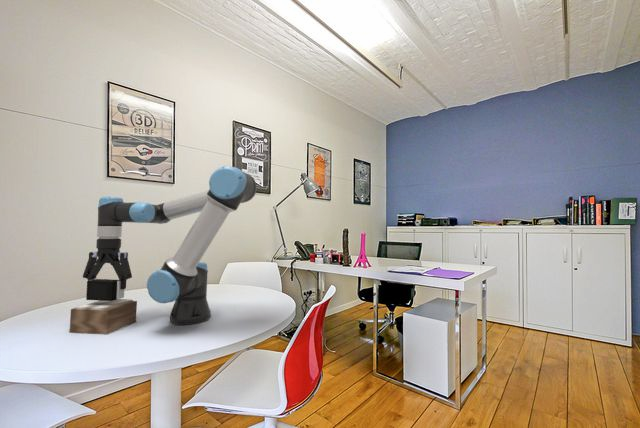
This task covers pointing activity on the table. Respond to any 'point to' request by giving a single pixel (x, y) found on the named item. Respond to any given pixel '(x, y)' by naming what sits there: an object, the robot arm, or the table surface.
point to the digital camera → (102, 290)
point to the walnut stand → (103, 316)
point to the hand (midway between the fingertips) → (106, 297)
